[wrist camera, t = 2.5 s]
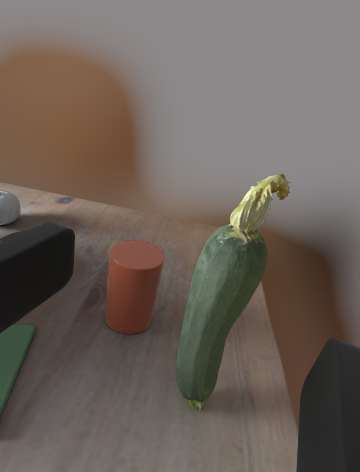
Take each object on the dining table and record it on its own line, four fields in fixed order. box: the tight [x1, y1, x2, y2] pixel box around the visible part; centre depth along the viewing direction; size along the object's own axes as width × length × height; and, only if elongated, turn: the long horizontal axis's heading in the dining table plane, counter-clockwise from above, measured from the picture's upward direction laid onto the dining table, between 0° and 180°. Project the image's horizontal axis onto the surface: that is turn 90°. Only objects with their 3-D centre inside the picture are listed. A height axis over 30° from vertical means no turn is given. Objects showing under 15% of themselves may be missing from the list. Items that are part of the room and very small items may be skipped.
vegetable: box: [176, 174, 289, 410], centre depth 22 cm, size 4×4×20 cm
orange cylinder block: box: [104, 240, 164, 334], centre depth 32 cm, size 5×5×8 cm
